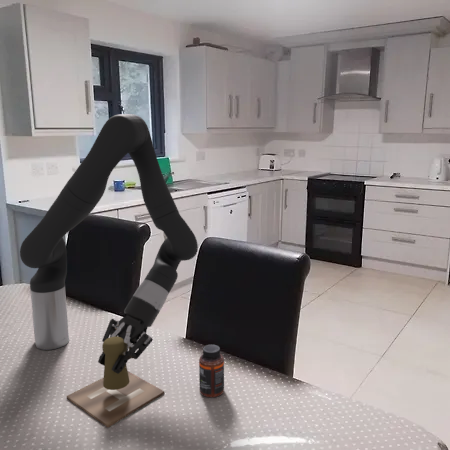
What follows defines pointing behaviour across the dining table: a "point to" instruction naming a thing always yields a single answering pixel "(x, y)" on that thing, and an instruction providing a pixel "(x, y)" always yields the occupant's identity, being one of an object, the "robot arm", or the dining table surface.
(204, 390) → the supplement bottle
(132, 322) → the robot arm
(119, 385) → the olive pawn figure
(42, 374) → the dining table surface
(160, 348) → the dining table surface
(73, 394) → the board
